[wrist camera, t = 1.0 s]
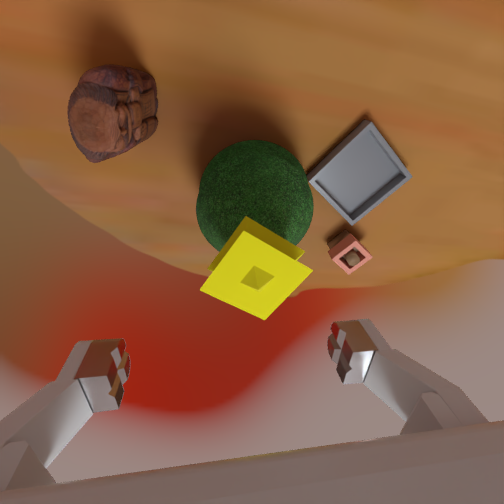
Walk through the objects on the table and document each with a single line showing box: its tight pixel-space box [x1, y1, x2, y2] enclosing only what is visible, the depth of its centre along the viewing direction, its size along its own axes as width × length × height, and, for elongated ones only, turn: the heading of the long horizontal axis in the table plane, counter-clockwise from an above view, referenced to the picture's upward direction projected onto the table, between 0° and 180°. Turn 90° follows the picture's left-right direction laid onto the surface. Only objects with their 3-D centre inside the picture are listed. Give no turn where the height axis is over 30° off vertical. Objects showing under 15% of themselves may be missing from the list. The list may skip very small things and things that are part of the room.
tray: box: [306, 119, 412, 225], centre depth 51 cm, size 14×14×3 cm
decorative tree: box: [196, 140, 313, 320], centre depth 40 cm, size 19×19×30 cm
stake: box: [328, 229, 360, 266], centre depth 58 cm, size 5×5×7 cm
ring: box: [328, 233, 372, 274], centre depth 57 cm, size 6×6×3 cm
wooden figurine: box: [68, 65, 158, 163], centre depth 37 cm, size 12×6×18 cm, turn 167°
